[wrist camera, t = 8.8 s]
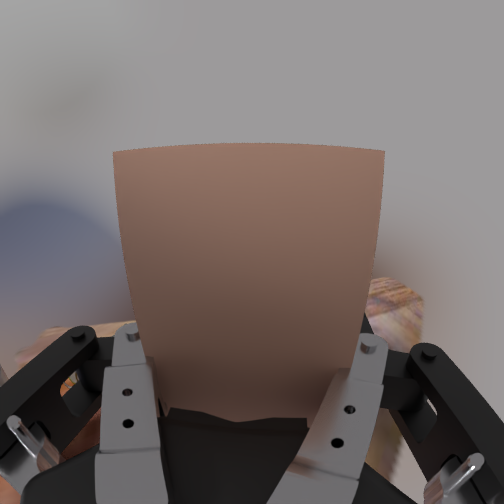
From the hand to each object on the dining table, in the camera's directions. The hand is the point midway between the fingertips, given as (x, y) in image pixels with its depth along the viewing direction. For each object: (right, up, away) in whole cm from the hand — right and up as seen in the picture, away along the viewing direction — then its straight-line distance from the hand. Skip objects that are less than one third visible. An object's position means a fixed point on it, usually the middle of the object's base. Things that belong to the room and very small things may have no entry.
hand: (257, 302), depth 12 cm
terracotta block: (0, -9, +1) cm, 9 cm away
